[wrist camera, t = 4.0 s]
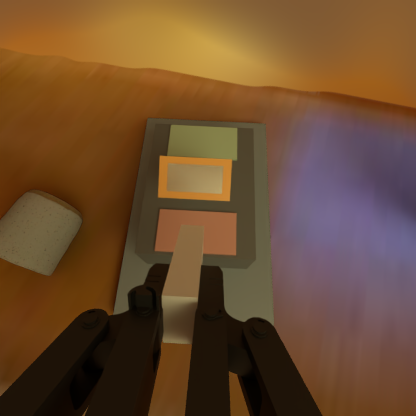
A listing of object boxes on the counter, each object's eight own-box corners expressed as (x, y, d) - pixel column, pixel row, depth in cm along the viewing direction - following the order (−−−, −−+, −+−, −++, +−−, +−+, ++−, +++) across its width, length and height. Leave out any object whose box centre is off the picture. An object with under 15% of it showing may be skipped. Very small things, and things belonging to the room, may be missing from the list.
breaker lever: (223, 199, 27) (229, 201, 18) (175, 196, 28) (158, 197, 19) (224, 171, 27) (232, 159, 18) (176, 168, 27) (159, 155, 18)
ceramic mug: (96, 221, 34) (67, 197, 27) (62, 280, 31) (20, 270, 24) (30, 196, 36) (-14, 167, 29) (-8, 250, 33) (-68, 233, 26)
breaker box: (270, 324, 30) (291, 328, 23) (117, 316, 30) (89, 317, 23) (263, 130, 40) (276, 90, 33) (149, 124, 40) (137, 83, 33)
